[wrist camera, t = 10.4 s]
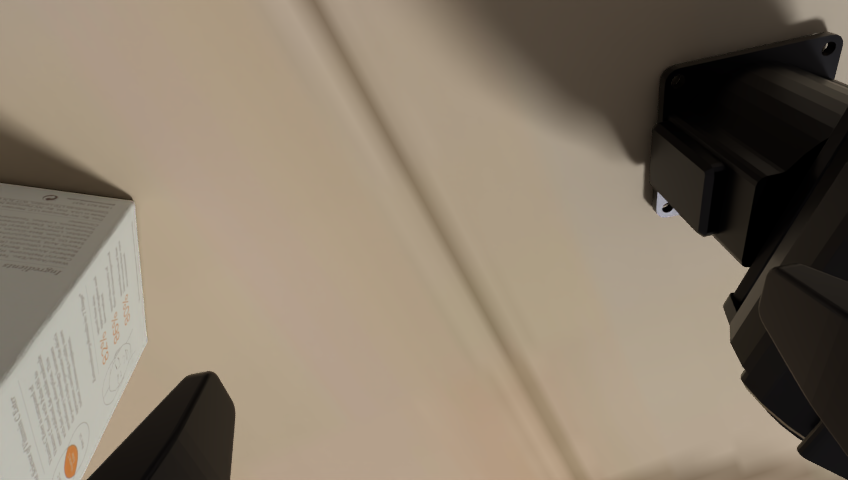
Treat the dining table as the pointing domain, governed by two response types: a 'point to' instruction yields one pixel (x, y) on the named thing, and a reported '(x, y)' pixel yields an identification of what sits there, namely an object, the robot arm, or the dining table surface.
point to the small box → (64, 326)
